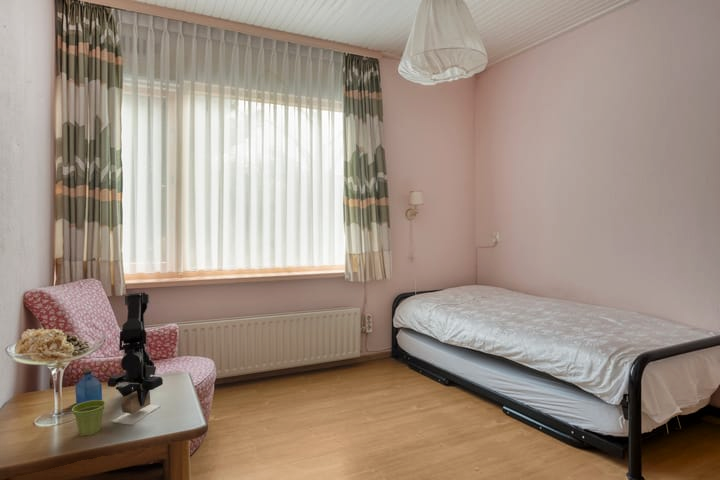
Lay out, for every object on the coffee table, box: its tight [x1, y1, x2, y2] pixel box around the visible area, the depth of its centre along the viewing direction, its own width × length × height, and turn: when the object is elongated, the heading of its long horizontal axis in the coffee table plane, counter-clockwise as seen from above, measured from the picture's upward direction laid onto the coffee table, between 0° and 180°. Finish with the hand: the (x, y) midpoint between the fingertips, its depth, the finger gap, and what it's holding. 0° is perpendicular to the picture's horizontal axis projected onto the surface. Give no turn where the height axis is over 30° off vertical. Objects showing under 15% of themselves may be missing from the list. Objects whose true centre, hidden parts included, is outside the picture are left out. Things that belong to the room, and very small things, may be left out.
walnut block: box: [120, 390, 151, 414], centre depth 155 cm, size 4×8×5 cm, turn 160°
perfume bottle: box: [75, 368, 103, 405], centre depth 167 cm, size 6×6×12 cm
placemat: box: [111, 404, 161, 426], centre depth 155 cm, size 14×8×1 cm, turn 165°
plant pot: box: [71, 399, 107, 436], centre depth 143 cm, size 9×9×9 cm
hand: (136, 405), depth 155 cm, fingers closed on walnut block, 5 cm apart
